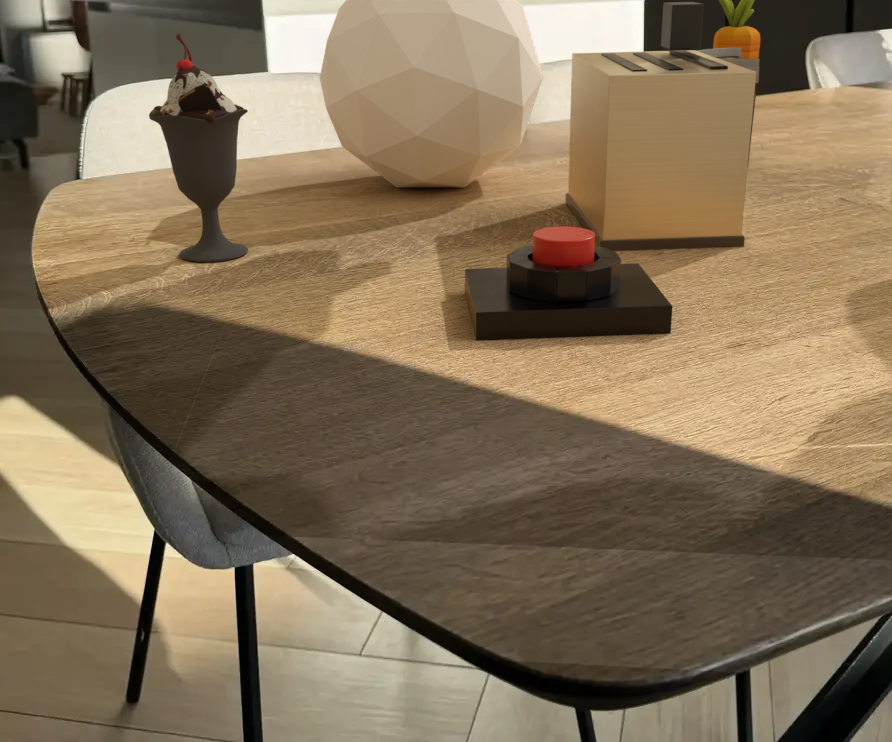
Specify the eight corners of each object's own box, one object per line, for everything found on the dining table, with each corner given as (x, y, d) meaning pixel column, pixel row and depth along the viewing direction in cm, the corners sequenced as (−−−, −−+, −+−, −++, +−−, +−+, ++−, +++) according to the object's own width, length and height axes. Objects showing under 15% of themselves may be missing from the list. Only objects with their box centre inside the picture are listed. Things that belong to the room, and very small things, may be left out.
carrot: (702, 137, 123) (712, -10, 117) (710, 130, 127) (721, -12, 121) (747, 139, 121) (761, -10, 115) (755, 132, 125) (768, -12, 119)
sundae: (199, 239, 85) (175, 30, 79) (276, 245, 83) (258, 31, 77) (148, 261, 80) (118, 38, 73) (229, 268, 77) (205, 39, 71)
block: (637, 289, 71) (640, 234, 70) (670, 334, 63) (674, 274, 61) (464, 295, 71) (464, 240, 69) (476, 341, 62) (475, 280, 61)
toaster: (686, 199, 95) (697, 47, 90) (744, 247, 80) (760, 68, 75) (565, 202, 94) (569, 50, 89) (600, 252, 79) (607, 72, 74)
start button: (588, 254, 67) (589, 225, 66) (599, 270, 64) (600, 240, 63) (528, 256, 67) (529, 227, 66) (536, 272, 64) (536, 242, 63)
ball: (397, 268, 102) (251, 97, 91) (422, 153, 116) (298, -8, 105) (578, 173, 93) (440, -30, 82) (582, 60, 107) (464, -126, 96)
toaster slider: (690, 45, 88) (693, 1, 87) (700, 48, 85) (703, 3, 84) (660, 46, 88) (663, 2, 87) (669, 49, 85) (672, 4, 84)
